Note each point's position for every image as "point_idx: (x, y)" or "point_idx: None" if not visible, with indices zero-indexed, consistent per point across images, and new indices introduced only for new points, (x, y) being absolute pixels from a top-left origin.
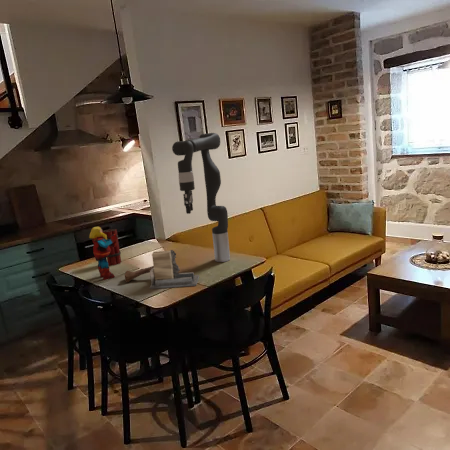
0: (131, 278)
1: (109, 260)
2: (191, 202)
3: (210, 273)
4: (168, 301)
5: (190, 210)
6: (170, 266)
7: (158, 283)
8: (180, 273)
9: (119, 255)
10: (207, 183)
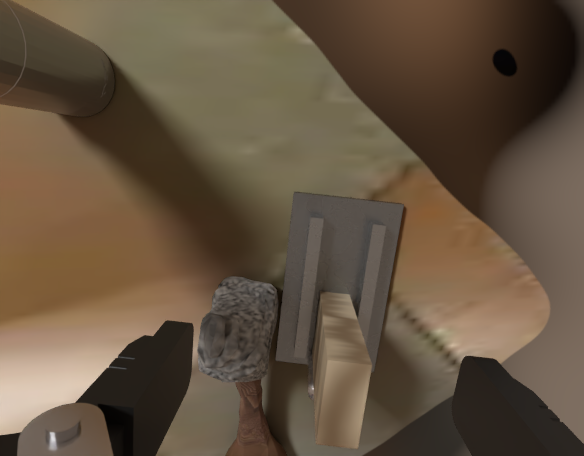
0: (277, 444)
1: None
2: (108, 450)
3: (266, 142)
4: (521, 297)
5: (512, 385)
6: (359, 327)
7: None
8: (309, 271)
9: None
10: None
